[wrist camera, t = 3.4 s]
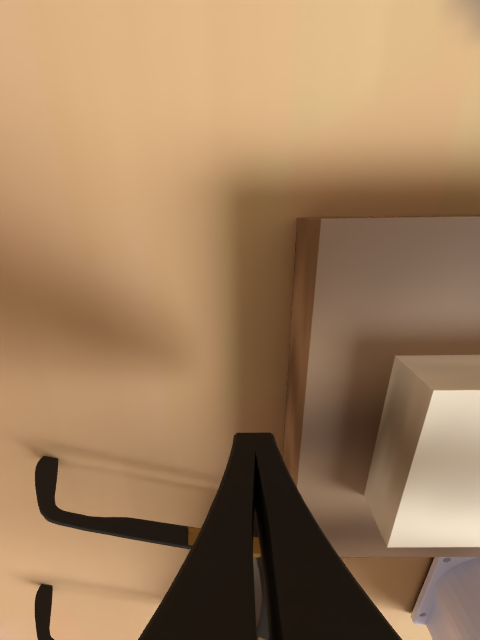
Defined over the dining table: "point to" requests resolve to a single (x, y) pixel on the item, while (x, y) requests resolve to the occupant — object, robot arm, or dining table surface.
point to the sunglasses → (130, 530)
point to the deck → (368, 352)
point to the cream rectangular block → (428, 454)
